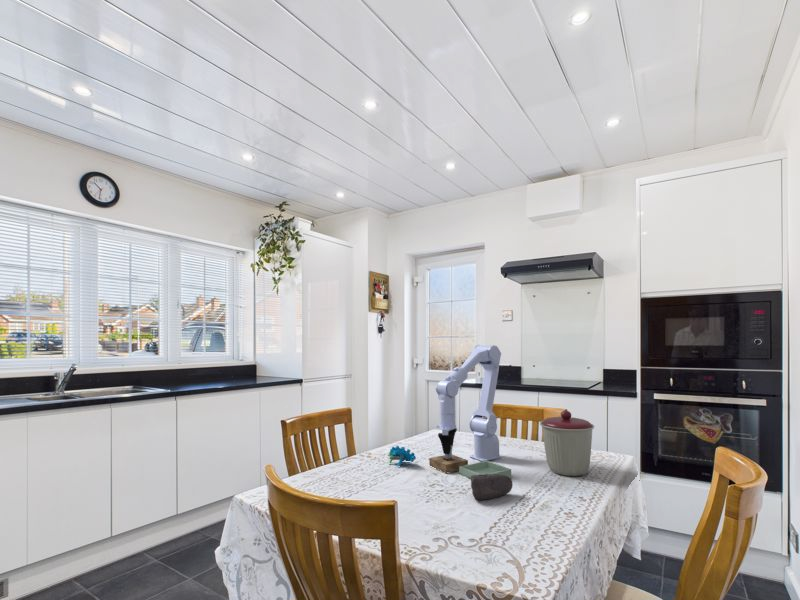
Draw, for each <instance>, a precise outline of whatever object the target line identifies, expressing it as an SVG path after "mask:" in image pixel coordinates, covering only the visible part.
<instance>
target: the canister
mask: <svg viewBox="0 0 800 600" xmlns="http://www.w3.org/2000/svg"><path fill="white" fill-rule="evenodd" d="M539 425H540V426H541V431H542V438H543V445H544V452H545V457H546V462H547V466H548V468H549V469H550V471H552V472H553V473H556V474H558V475H561V476H567V477H579V476H584V475H585V474H587V473H588V471H589V470H590V463H591V455H592V442H593V430H594V429H595V425H594V424H593V423H592V422H589V420H586V419H583V418H579V417H578V418H577V417H572V413H571V411H569V410H562V411H561V412H560V416H552V417H547V418H544V419H543V420H541V421H540V422H539Z"/></svg>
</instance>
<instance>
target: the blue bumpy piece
mask: <svg viewBox="0 0 800 600" xmlns="http://www.w3.org/2000/svg"><path fill="white" fill-rule="evenodd" d="M387 456H388V457H389V462H388V464H389V463H391V464H392V461H398V462H397V467H398V466H400V465H401V466H402V464H403V462H402V461H404V462H406V461H410V462H412V463H413V462H414V461H415V460H416V458H417V456H416V455H415V453H414V452H411V449H409V448H407V449H406V448H405V446H401V447H400V446H399V445H396V446H392V447H391V448H390V450H389V452H388V454H387ZM401 466H400V467H401Z"/></svg>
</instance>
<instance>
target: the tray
mask: <svg viewBox="0 0 800 600" xmlns="http://www.w3.org/2000/svg"><path fill="white" fill-rule="evenodd" d="M458 472H459V474H458V475H460V474H461V475H460V476H462V475H463V477H465V476H466V477H465V478H467V477H468V478H467V479H469V480H471V476H473V475H480V474H481V475H484V474H501V475H505V476H507V477H509V478H511V477H512V469H511V468H509V467H506V466H503V465H501V464H497V463H494V462H492V461H490V460H488V461H480V462H475V463H470V464H468V465H465V466H460V467H459V471H458Z"/></svg>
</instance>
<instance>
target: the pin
mask: <svg viewBox="0 0 800 600" xmlns="http://www.w3.org/2000/svg"><path fill="white" fill-rule="evenodd" d="M444 455H445V460H446V461H451V460H452V455H453V447H452V445H451V450H450V454H444Z"/></svg>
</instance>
